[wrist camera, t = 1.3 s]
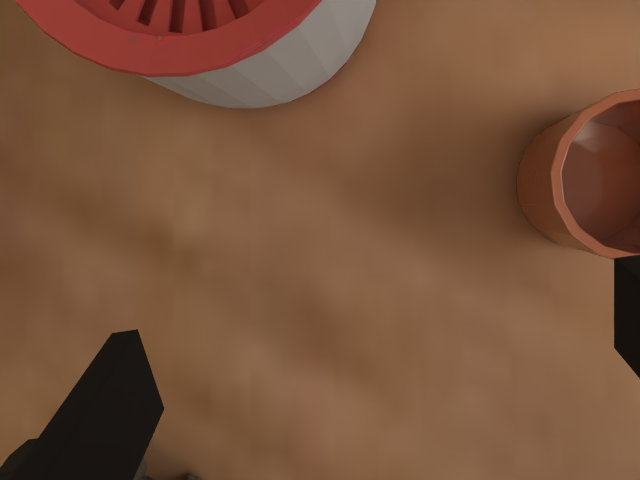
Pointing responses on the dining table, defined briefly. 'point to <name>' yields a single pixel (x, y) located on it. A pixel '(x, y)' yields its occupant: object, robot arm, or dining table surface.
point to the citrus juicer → (212, 43)
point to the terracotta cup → (587, 178)
